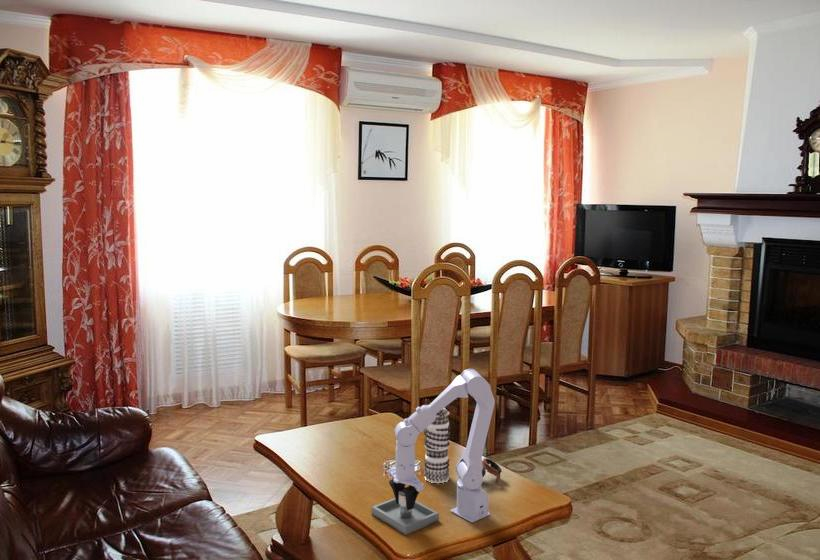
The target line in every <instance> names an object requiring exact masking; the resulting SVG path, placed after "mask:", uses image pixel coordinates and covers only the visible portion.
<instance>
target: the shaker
mask: <svg viewBox="0 0 820 560" xmlns="http://www.w3.org/2000/svg"><path fill="white" fill-rule="evenodd" d="M403 488H406V486H405V487H403ZM403 488H400V489H399V490H398V493H399V517H400V518H403V519H408V518H411V517H412V509H410V510H408V509H407V506H406V496H405V493H404V491H403Z"/></svg>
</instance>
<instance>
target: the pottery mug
mask: <svg viewBox="0 0 820 560" xmlns="http://www.w3.org/2000/svg"><path fill="white" fill-rule="evenodd" d="M482 465H483V469H482V476H483V478H484V477H485V476H486V473H489V474H491V475H493V476H494V477H496V479H495V481H494V483H495V484H498V483H499V481H500V480H501V473H502V472H503V471H502V468H501V467H500V466H499V464H497V463H496V462H495V461H494V460H492V459H490V458H488V457H485V458H483V459H482Z"/></svg>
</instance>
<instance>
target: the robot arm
mask: <svg viewBox="0 0 820 560" xmlns="http://www.w3.org/2000/svg"><path fill="white" fill-rule="evenodd" d="M491 387H492V386H491V384H490V383H489V382H488V381H487V380H486V379H485V378H484V377H483V376H481V374H480V373H479V372H478V370H476V369H474V368H467V369H465V370H463V371H462V372H461V374H459V375H457V376H456V377H455V378H454V379H453V381H451V383H450V384H448V386H447V387H446V388H445V389H444V390H443V391H442V392H441V393H440V394H439V395H438V396H437V397H436V398H435V399H433V401H432V402H430V403H429V404H423V405H421V406H417V407H416V408H415V411H414V412H413V413H412V414H410V415H409V417H407V418H404V419H403V421H400V422H399V423H397V424H396V426H395V428H394V430H393V433H394V435H395V436H394V437H396V441H395V442H396V443H395V468H393V467H392V468H389V469H387V476H388V477H389V478H390V477H391V478H392V479H391V480H389V481H388V483H389V486H390V487H391V489H392V490H391V491H392V492H393V496H394V498H395V500H396V503H397V504H399V493H398V490H399V489H400V488H403V487H406V485H407V487H406V488H403V491H404V493H405V496H406V506H407V509H408V510H410V509H413V508H414V505H415V501H417V497H418V495H419V493H420V492H422V491H424V486H425V485H424V483H423V482H421V481H420V479H418V477H417V476H416V475H415V474H416V473H415V471H416V468H415V467H416V465H415V464H416V463H415V462H416V457H415V456H416V448H415V443H416V442H417V440H418V436H419V435H420V434H421V433H422V432H424V430H425V429H427V427H428V426H429V425H430V424H431V423H432V422H434V421H435V419H436V414H437V413H438V412H439V411H440V410H442V409H443V408H446V407H447V406H448V405H450V404H451V403H452V402H453V401H455V400H456V399H457V398H461V399H462V398H463V399H465V398H466V399H467V398H469V395H470V397H472V398H473V399H474V400H475V402H476V406H475V409H474V414H473V418H472V420H471V421H472V422H471V426H470V430H469V435H468V438H467V443H466V448H465V450H464V452H463V453H462V454H461V456H460V459H459V460H458V462H457V463H456V465H455V472H456V474H457V476H458V480H457V481H456V507H453V508H452V509H451V508H450V512H451V513H452V514H455V515H456V516H458V517H461V518H462V519H464V520H466V521H468V522H470V523H475V522H477V521H479V520H481V519H483V518H485V517H488V516H490V515H491V514H490V512H489V494H488V492H487V491H485V490H484V488H483V487H482V484H483V480H484V477H483V476H482V469H483V465H482V461H483V458H482V457H483V453H484V450H485V445H486V441H487V436H488V432H489V428H490V425H491V420H492V416H493V412H494V409H495V403H496V401H495V397H494V394H493V392H492V388H491ZM468 394H469V395H468Z"/></svg>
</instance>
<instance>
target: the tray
mask: <svg viewBox="0 0 820 560" xmlns="http://www.w3.org/2000/svg"><path fill="white" fill-rule="evenodd" d="M371 515H372V516H374V517H375V518H377V519H378V520H380V521H381V522H384V523H385V524H387V525H388V526H390V527H392V528H394V530H396V531H398V532H400V533H402V534H403V535H405V536H407V535H409V534H411V533H413V532H416V531H418V530H420V529H423V528H425V527H428V526H430V525H432V524H435V523H437V522H439V521H440V512H438V511H436V510H434V509H432V508H430V507H429V506H427V505H425V504H423V503H421V502H419V501H417V500H416V501H415V505H414V508H413V509H412V517H411V518H408V519H403V518H400V517H399V504H397V503H396V500H395V497H394V498H391V499H389V500H386V501H383V502H381V503H378V504H375V505H373V506H371Z"/></svg>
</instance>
